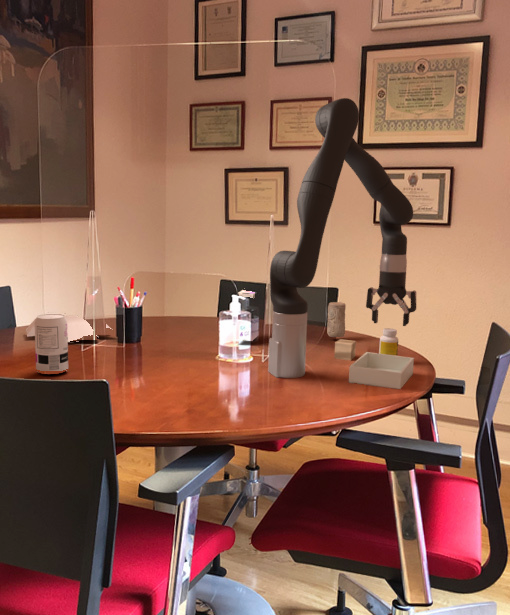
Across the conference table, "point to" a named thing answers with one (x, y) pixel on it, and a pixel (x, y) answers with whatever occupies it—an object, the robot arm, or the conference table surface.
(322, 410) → the conference table surface
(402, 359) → the box
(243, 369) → the conference table surface
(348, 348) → the birch cube
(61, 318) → the supplement can
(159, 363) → the conference table surface
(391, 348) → the supplement bottle
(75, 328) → the paper sheets
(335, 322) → the carving
